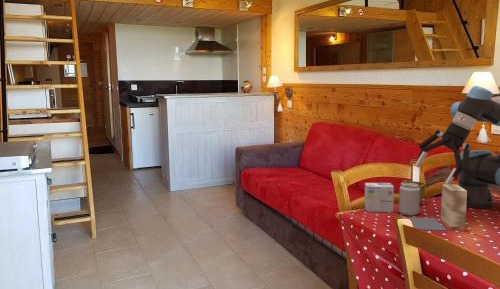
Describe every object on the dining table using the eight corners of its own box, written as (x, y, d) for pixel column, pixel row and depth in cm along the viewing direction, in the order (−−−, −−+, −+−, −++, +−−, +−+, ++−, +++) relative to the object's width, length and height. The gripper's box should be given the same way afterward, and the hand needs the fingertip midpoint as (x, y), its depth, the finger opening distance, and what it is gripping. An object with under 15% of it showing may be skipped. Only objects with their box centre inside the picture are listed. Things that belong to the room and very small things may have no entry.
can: (395, 211, 164) (396, 182, 162) (413, 210, 165) (414, 181, 163) (404, 216, 157) (405, 186, 155) (422, 216, 157) (424, 185, 156)
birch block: (454, 221, 151) (456, 184, 149) (464, 230, 141) (467, 191, 139) (440, 220, 151) (442, 184, 150) (449, 229, 142) (451, 190, 140)
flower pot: (404, 199, 181) (405, 179, 180) (425, 202, 176) (426, 182, 174) (399, 204, 174) (399, 183, 172) (420, 207, 169) (421, 186, 167)
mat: (435, 219, 153) (435, 218, 153) (446, 230, 140) (446, 230, 140) (399, 218, 155) (399, 217, 155) (407, 229, 142) (407, 228, 142)
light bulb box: (389, 207, 169) (390, 182, 168) (393, 212, 162) (394, 186, 161) (363, 207, 170) (364, 182, 169) (366, 212, 163) (367, 185, 162)
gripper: (428, 111, 159) (401, 158, 163) (489, 138, 141) (456, 190, 145) (436, 115, 164) (409, 161, 168) (496, 142, 145) (465, 192, 150)
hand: (431, 175), depth 157 cm, fingers open, 13 cm apart
